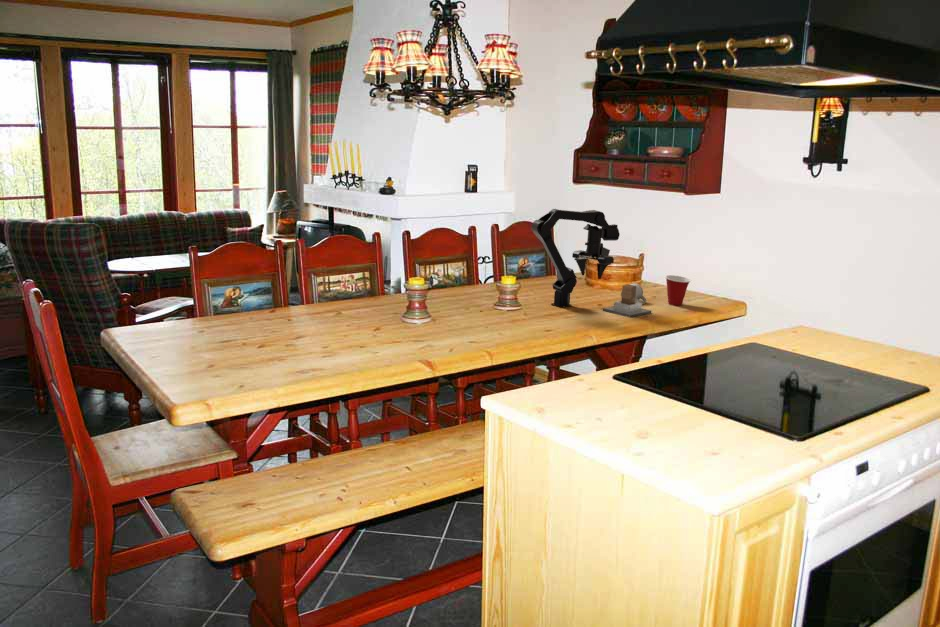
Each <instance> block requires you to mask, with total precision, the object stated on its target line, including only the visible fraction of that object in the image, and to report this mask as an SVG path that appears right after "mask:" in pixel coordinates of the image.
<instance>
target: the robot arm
mask: <svg viewBox="0 0 940 627" xmlns="http://www.w3.org/2000/svg"><path fill="white" fill-rule="evenodd" d="M559 220H567V221H575V222H576V221H577V222H580V221H581V222H585V223H587V224H586V226H584V227H583V230H585V231H587V240H586V242H584V246H586V250H581V249H579V250H574V251H572V254H571V255H572V258H574V259H573V260H574V261H575V262H576V264H577V267H578V269H579V271H580V274H581V276H585V274H586V265H587V261H588V260H589V259H591V260H594V261H595V260H596V261H597V262H598V263H596V266H597V267H596V269H597V279H598V280H601V279H602V277H603V275H604V271H605V270H606V268H607V267H608V266H610V265H611V264H614V263H615V258H614V256H613V255H610V252H611V249H609V248H606V247H604V244H603V242H602V241H607V242H608V241H610V242H611V241H613V242H614V241H618V240H619V238H620V231H619V228H618V224H616V223H614V224H609V223H608V221H607V219H606V216H605V214H604V212H602V211H599V210H595V209H590V210H583V211H576V210H565V209H557V208H552V209H551V210H550V211H549V212H547V213H545V214H544V215H542V216H541V217H539V218H538V219H536V220H534V221H533V222H532V224H531V226H530V229H531V231H532V232H533V234H534V235H535V236H536V238H537V239H538V240H540V242H541V243H542V245H543V247H544V249H545V251H546V253H547V256H548V257H549V259H550V261H551V262H552V265H553V267H554V269H555V273H556V274H555V275H556V281H555V282H553V283H552V286H551V287H552V288H553V290H555V291H554V294H553V295H554V299H553V303H550V305H552V306H555V307H558V308H567V307H572V306H573V304H571V303H570V302H571V294H572V292H573V291H574V288H575V287H576V285H577V283H578V279H577V278H578V276H577V275H576V274H575V270H574V269H573V268H570V267H568V266H566V263H565V262H564V260H563V258H562V255H561V253H560V252H559V249H558V247H557V246H556V243H555V241H554V239H553V231H552V229H553V228H554V227H555V226H556V224H557V223H558V221H559ZM591 224H592V225H591Z"/></svg>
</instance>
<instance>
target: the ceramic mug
mask: <svg viewBox="0 0 940 627" xmlns="http://www.w3.org/2000/svg"><path fill="white" fill-rule="evenodd" d="M629 285H633V286H636V298H635V302H639V303H642V305H645V304H646V302H647V299H646V297H645V296H644V289H643V287H642V286H641V285H640V284H639V283H636V282H635V283H631V284H629ZM620 297H621V299H622V290H621V291H620Z"/></svg>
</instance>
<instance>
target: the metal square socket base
mask: <svg viewBox="0 0 940 627" xmlns="http://www.w3.org/2000/svg"><path fill="white" fill-rule="evenodd" d="M642 305H643V304H642V303H639V302H636V301H635V304H630V305H629V304H624V303H621V300H616V301H613V306H608V307H603V309H602V310H603V311H604V312H607V313H611V314H616V315H619V316H623V317H626V316H627V317H628V318H635V317H640V316H642V315H643V316H644V315H649V314H652V310H650V309H646V308H642ZM639 315H640V316H639ZM634 316H635V317H634Z"/></svg>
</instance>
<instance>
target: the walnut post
mask: <svg viewBox="0 0 940 627" xmlns="http://www.w3.org/2000/svg"><path fill="white" fill-rule="evenodd" d="M621 291H622V298H621V300H620V301H621V303H624V304H629V305H630V304H635V302H636V301H635V298H636V286H633V285H630V284H624V285H622V289H621Z"/></svg>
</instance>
